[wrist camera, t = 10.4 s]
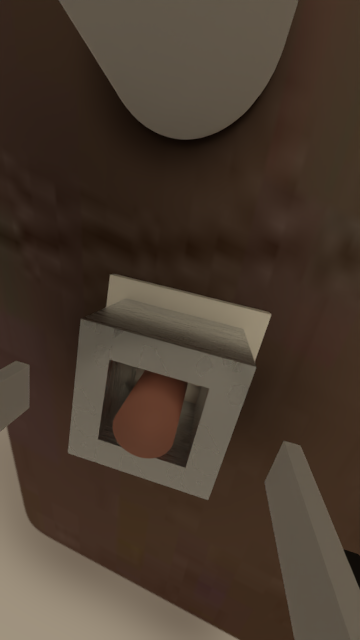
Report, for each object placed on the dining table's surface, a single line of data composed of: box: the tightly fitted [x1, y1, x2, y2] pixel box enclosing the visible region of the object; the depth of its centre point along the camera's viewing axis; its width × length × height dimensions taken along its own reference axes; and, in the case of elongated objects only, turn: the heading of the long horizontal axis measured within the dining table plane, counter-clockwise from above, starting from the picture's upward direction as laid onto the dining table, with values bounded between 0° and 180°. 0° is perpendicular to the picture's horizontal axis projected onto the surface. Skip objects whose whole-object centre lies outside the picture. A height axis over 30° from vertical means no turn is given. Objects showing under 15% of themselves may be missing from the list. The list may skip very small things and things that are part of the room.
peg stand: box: [106, 274, 271, 458], centre depth 15 cm, size 12×12×8 cm
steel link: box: [68, 298, 256, 500], centre depth 15 cm, size 9×9×6 cm
